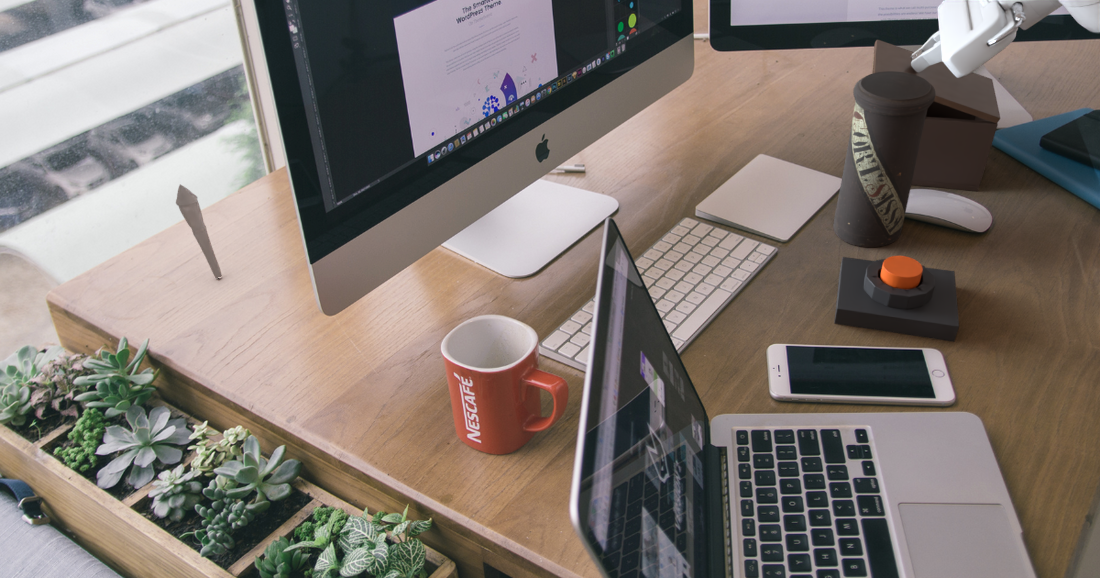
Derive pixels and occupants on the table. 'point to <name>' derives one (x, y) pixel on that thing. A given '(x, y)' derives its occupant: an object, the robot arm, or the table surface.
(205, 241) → the grey arrowhead stake
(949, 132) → the brown box
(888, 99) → the container
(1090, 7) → the robot arm
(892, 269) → the button
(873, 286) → the dark grey button base
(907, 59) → the brown piece
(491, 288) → the table surface
